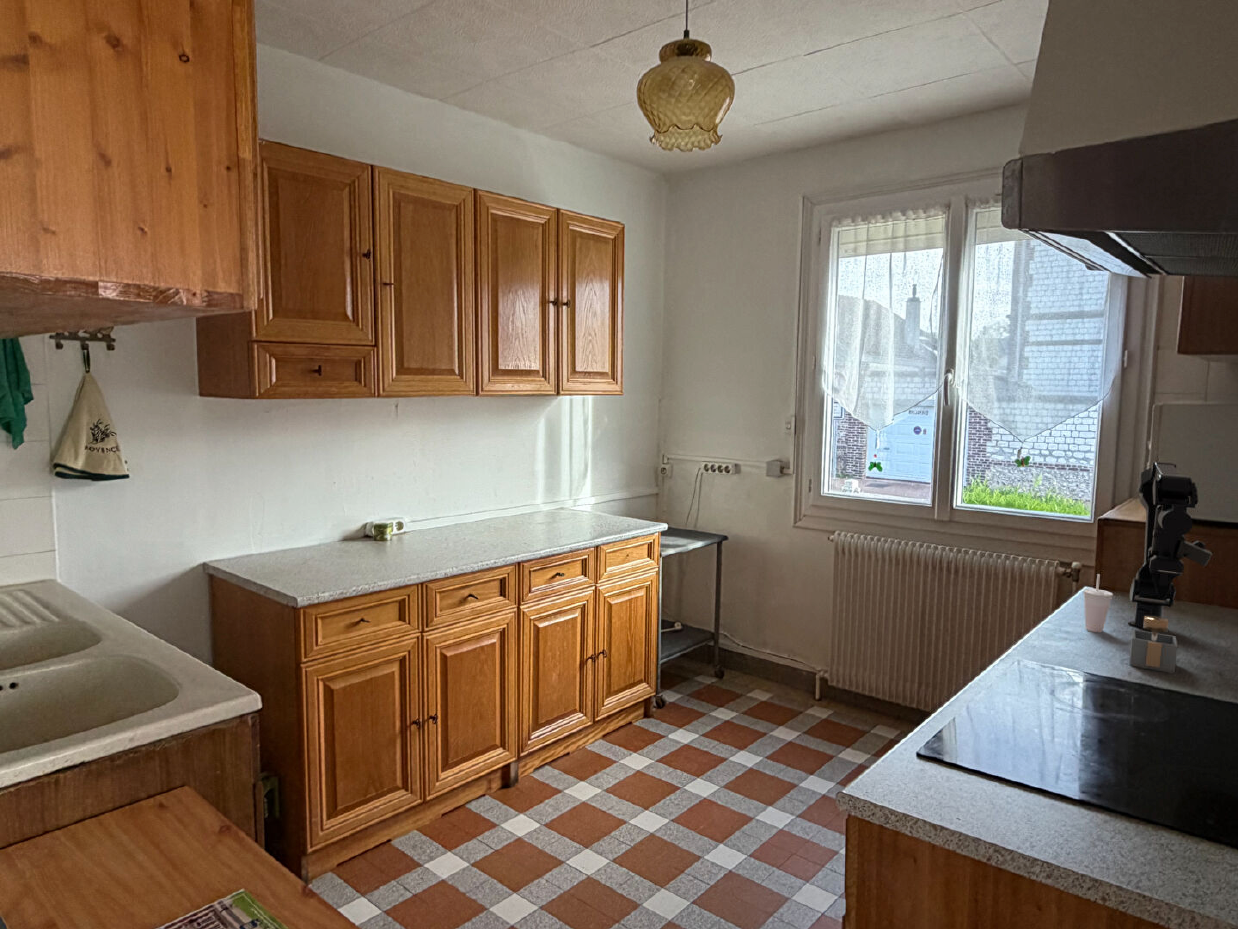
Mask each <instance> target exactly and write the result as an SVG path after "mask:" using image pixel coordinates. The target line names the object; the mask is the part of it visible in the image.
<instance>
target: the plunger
mask: <svg viewBox="0 0 1238 929" xmlns="http://www.w3.org/2000/svg"><path fill="white" fill-rule="evenodd" d="M1142 629H1143V630H1147V631H1148V632H1152V637H1151V641H1154V642H1157V633H1158V634H1164V633H1165V634H1166V633H1168V629H1169V619H1167V618H1164V617H1163V616H1162V617H1157V616H1144V624H1143V628H1142Z"/></svg>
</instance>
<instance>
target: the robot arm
mask: <svg viewBox="0 0 1238 929" xmlns="http://www.w3.org/2000/svg"><path fill="white" fill-rule="evenodd" d="M1137 481H1138V482H1137V493H1138V494H1139V503H1140V504H1141V505H1142V507H1143V508H1144V509H1145V511H1146V515H1145V516H1146V517H1145V532H1144V536H1145V537H1144V552H1143V553H1144V556H1143V565H1142V566H1141V567H1140V569H1138V571H1137V572H1136V574H1135V577H1134V578H1133V579H1132V583H1131V586H1130V590H1129V600H1130V602H1131V603H1135V610H1134V620H1131V621H1128V622H1127V625H1131V626H1133V627H1137V626H1138V627H1137V628H1141V629H1144V628H1143V624H1144V616H1157V617H1162V618H1163V614H1164V613H1163V610H1164V607H1168V608H1171V607H1173V606H1174V600H1175V597H1176V593H1177V589H1176V587H1175V585H1174V582H1173V581H1174V579H1176V578H1177V577H1180V576H1182V575H1183V574H1184V570H1185V569H1184V567H1185V564H1184V562H1183V560H1184V558H1186V559H1188V560H1191V561H1193V562H1196V563H1197V564H1198V565H1201V566H1202V567H1206V566H1207V565H1208V563H1209V561H1210V559H1211V557H1212V556H1213V553H1212V551H1211V550H1209V549H1206V544H1205V542H1201V541H1199V540H1196V541H1194V542H1193V543H1192V542H1189V541H1187V540H1186V537H1185V535H1186V534H1188V533H1189V532H1190V531H1191V530H1192V528H1193V526H1194V524H1193V523H1194V522H1193V518H1192V517H1191V515H1190V514H1188V513H1187V510H1188V508H1189V509H1195V508H1196V505H1198V503H1199V497H1198V496H1199V495H1198V487H1197V486H1196V483H1195V482H1194V481H1193V480H1192V477H1191V476H1188V475H1181V474H1180V473H1179V471H1178V469H1177V464H1175V463H1173V462H1162V461H1161V462H1160V461H1154V462H1151V466H1150V467H1149V468H1148V469H1146V470H1144V471H1142V472H1141V473H1140V475H1139V478H1138V480H1137Z"/></svg>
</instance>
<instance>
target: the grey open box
mask: <svg viewBox="0 0 1238 929" xmlns="http://www.w3.org/2000/svg"><path fill="white" fill-rule="evenodd" d="M1151 637H1152V631H1144V630H1139V629H1131V638H1130V646H1129V656H1130V657H1129V656H1128V657H1129V666H1132V665H1133V667H1139V668H1144V669H1148V670H1153V671H1160V672H1164V673H1169V674H1175V670H1176V662H1177V655H1178V654H1177V653H1178V641H1177V637H1176V635H1175V636H1174V635H1170V634H1164V633H1159V632H1158V633H1157V642H1154V641H1151Z"/></svg>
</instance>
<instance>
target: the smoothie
mask: <svg viewBox="0 0 1238 929" xmlns="http://www.w3.org/2000/svg"><path fill="white" fill-rule="evenodd" d="M1096 576H1097V577H1096V584H1095V585H1096V586H1095V588H1083V589H1082V590H1083V592H1082V594H1083V596H1084V597H1083V598H1084V599H1083V600H1084V620H1085V621H1084V622H1085V624H1084V625H1085V630H1086V631H1087V632H1092V633H1103V632H1104V627H1105V624H1106V621H1107V617H1108V612H1109V608H1110V605H1111V601H1112V599H1113V598H1114V593H1113V592H1110V591H1108V590H1103V589H1100V588H1099V587H1100V581H1101V580H1100V579H1101V578H1100V577H1101V574H1099V573H1097V574H1096Z"/></svg>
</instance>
